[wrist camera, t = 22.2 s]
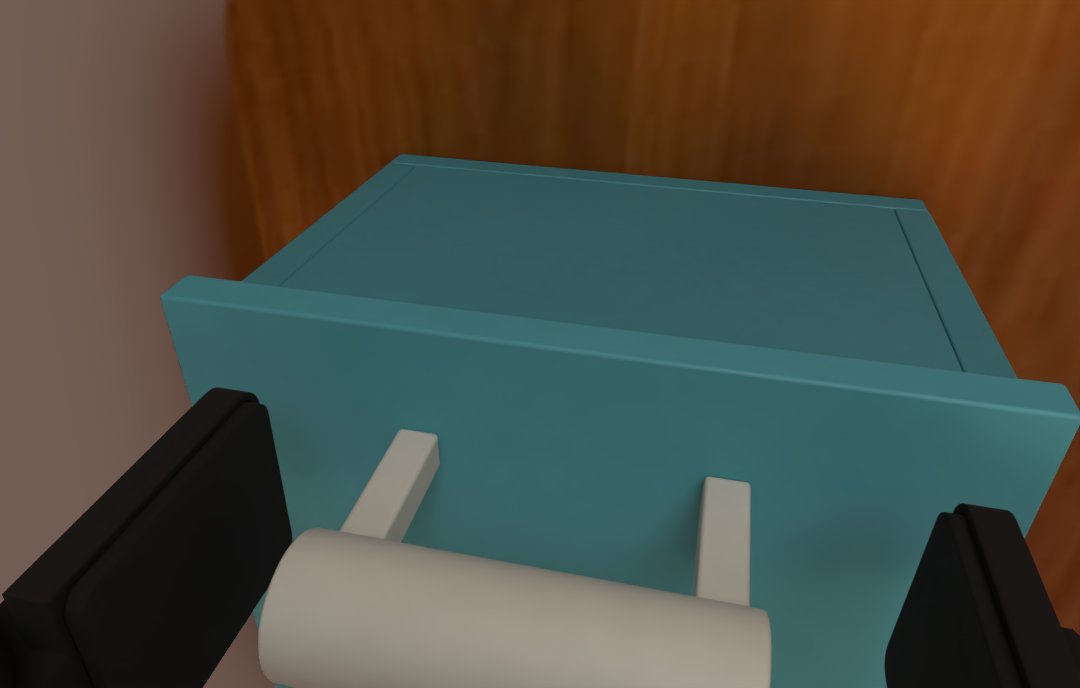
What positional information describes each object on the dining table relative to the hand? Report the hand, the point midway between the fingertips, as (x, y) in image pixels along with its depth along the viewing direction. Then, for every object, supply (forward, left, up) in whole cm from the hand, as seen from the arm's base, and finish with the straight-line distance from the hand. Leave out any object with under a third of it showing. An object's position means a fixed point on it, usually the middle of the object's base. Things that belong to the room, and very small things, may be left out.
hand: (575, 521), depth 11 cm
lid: (+6, -4, -3) cm, 7 cm away
